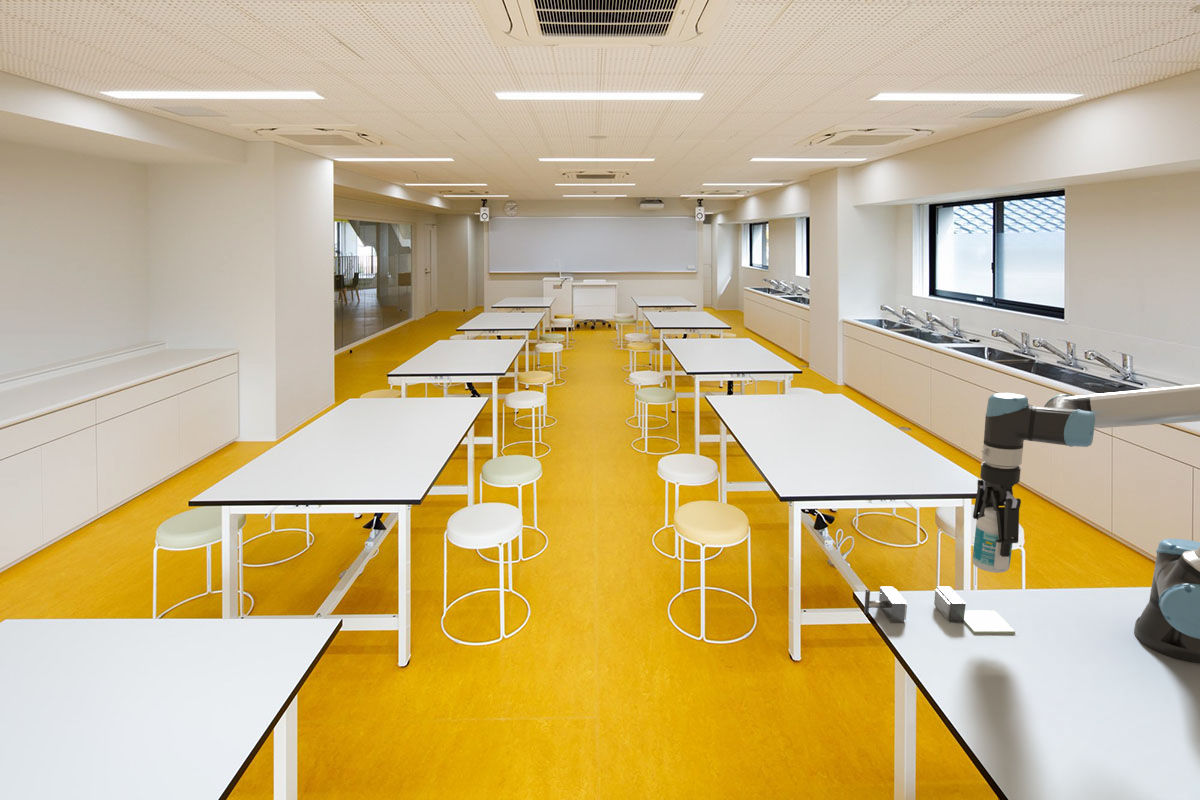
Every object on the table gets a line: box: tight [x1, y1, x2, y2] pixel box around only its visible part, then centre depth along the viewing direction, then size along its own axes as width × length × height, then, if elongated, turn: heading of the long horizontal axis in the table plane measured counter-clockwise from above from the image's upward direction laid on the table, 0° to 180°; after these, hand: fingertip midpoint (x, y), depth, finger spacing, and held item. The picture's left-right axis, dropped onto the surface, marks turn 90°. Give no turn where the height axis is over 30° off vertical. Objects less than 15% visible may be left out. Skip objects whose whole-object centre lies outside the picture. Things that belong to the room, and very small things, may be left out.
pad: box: [963, 610, 1016, 635], centre depth 158 cm, size 9×9×1 cm
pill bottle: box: [971, 507, 1013, 574], centre depth 153 cm, size 8×7×14 cm
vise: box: [863, 586, 966, 624], centre depth 162 cm, size 21×8×7 cm, turn 87°
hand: (991, 559), depth 154 cm, fingers closed on pill bottle, 7 cm apart
